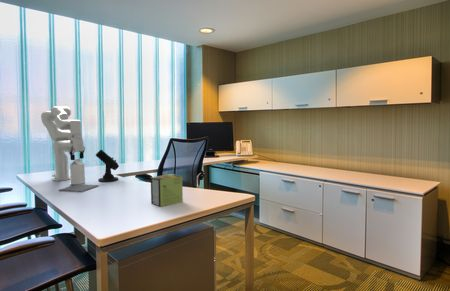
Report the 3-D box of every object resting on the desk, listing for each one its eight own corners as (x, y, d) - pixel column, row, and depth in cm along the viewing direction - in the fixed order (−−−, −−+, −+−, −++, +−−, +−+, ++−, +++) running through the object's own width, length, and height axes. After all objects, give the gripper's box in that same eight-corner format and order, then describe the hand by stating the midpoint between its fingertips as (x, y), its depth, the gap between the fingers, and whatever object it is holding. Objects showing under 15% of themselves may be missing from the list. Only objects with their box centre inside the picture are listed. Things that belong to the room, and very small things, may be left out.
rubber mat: (58, 190, 203) (58, 189, 203) (77, 185, 220) (76, 184, 220) (81, 192, 199) (81, 191, 199) (98, 186, 217) (98, 185, 217)
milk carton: (85, 182, 229) (84, 158, 227) (79, 184, 222) (78, 159, 220) (76, 182, 230) (75, 158, 228) (70, 184, 223) (69, 159, 221)
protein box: (183, 201, 176) (182, 175, 174) (160, 207, 165) (159, 179, 164) (172, 198, 183) (172, 173, 182) (150, 203, 172) (150, 177, 171)
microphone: (96, 179, 242) (95, 149, 239) (118, 177, 249) (117, 148, 247) (96, 183, 228) (95, 150, 226) (120, 181, 235) (119, 149, 233)
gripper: (72, 137, 214) (73, 160, 215) (88, 136, 230) (89, 157, 232) (63, 137, 215) (64, 160, 216) (79, 136, 232) (80, 157, 233)
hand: (77, 159), depth 224 cm, fingers open, 9 cm apart
